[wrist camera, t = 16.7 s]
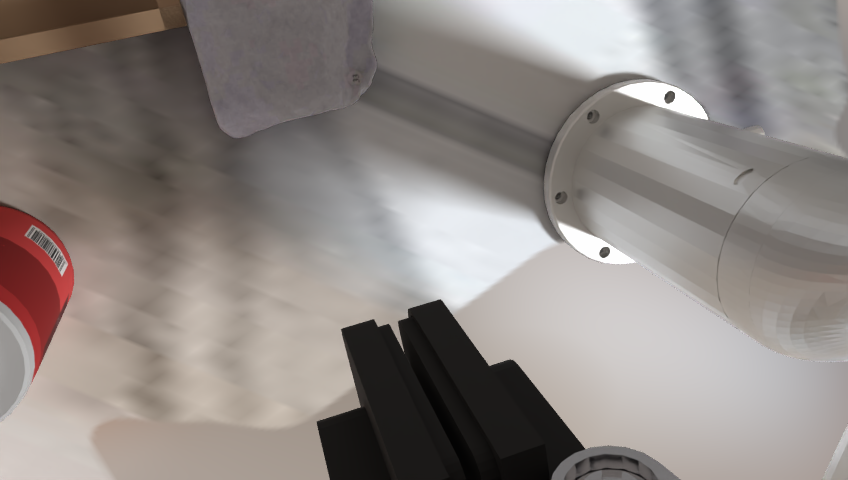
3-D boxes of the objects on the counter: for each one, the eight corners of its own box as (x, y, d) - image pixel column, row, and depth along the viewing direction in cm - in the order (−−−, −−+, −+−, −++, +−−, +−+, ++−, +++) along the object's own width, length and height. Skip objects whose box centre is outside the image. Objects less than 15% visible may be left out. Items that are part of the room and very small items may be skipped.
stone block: (322, -122, 38) (137, -89, 35) (355, -135, 34) (150, -99, 31) (368, 90, 43) (211, 138, 40) (402, 101, 39) (231, 155, 36)
